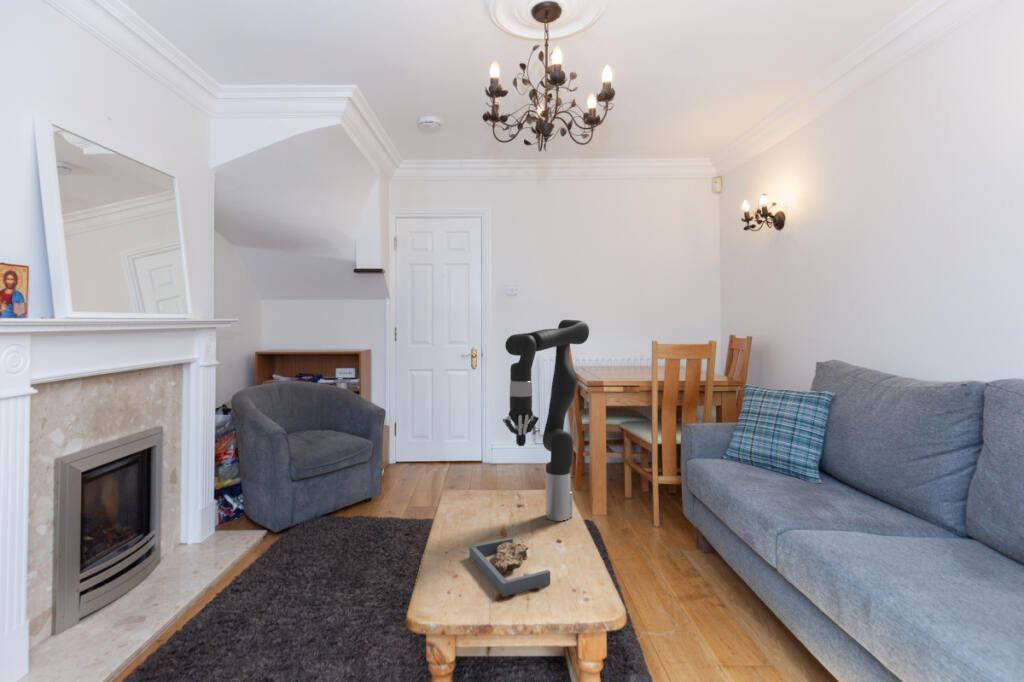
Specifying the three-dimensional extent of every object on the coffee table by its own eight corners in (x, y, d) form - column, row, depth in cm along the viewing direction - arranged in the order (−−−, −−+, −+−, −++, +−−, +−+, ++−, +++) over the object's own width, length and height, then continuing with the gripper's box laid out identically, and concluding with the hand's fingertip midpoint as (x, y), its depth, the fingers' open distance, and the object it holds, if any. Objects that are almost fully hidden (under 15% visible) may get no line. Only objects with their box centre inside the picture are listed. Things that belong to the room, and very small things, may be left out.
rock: (528, 569, 136) (494, 561, 137) (524, 586, 137) (490, 577, 137) (530, 541, 153) (499, 533, 153) (527, 556, 153) (496, 548, 154)
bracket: (511, 548, 156) (511, 537, 156) (550, 584, 133) (550, 571, 133) (469, 557, 149) (469, 546, 149) (503, 596, 127) (503, 583, 127)
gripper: (532, 391, 167) (532, 441, 168) (498, 394, 161) (498, 445, 162) (543, 394, 161) (543, 446, 161) (507, 396, 155) (507, 450, 155)
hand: (520, 445), depth 161 cm, fingers closed
